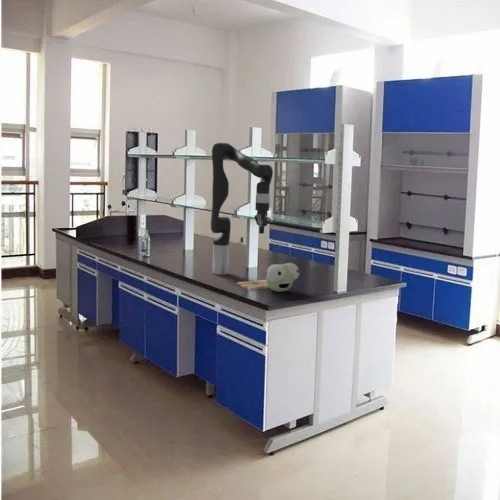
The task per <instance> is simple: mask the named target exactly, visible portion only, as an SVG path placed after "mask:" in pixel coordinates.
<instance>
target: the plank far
mask: <svg viewBox="0 0 500 500" xmlns="http://www.w3.org/2000/svg"><path fill="white" fill-rule="evenodd" d="M251 281H252V282H254V283H256V284H258V285H263V284H267V282H266V279H259V280H251Z"/></svg>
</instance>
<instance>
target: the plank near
mask: <svg viewBox="0 0 500 500" xmlns="http://www.w3.org/2000/svg"><path fill="white" fill-rule="evenodd" d="M252 281H253V280H250V281H239V282H238V281H237V282H236V285H237V286H239V287H242V288H244V289H245V287H246V286H253V285H258V284H256V283H254V282H252Z"/></svg>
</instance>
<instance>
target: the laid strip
mask: <svg viewBox="0 0 500 500" xmlns="http://www.w3.org/2000/svg"><path fill="white" fill-rule="evenodd" d="M244 289H246V290H248V291H255V290H256V291H257V290H265V289H271V288H270V287H269V286H268V284H263V285H253V286H246V287H245V288H244Z"/></svg>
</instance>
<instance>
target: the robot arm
mask: <svg viewBox="0 0 500 500" xmlns="http://www.w3.org/2000/svg"><path fill="white" fill-rule="evenodd" d="M211 157H212V158H211V161H212V194H211V195H212V197H211V198H212V207H211V217H210V230H211V232H212V233H213V234H221V235H219V236H218V237H216V238H214V239H213V240H212V270H211V271H212V272H211V273H212V274H213V275H217V276H224V275H225V276H226V275H228V274H229V261H230V260H229V258H230V256H229V255H230V238H231V219H230V217H228V216H220V211H221V208H222V207H223V205H224V203H225V202H226V200H227V198H228V196H229V192H230V191H229V189H230V187H229V186H230V183H229V180H228V177H227V174H226V173H225V168H224V160H230V161H233V162H236V163H237V165H239V166H240V167H241V168H242V169H244V170H246V171H247V172H249V173H251V174H252V175H253V176H255V177H256V178H260V181H259V182H257V183H256V194H255V209H254V210H255V211H256V215H254V216H253V217H254V219H255V222H256V225H257V226H258V233H259V234H261V235H263V234H264V233H265V227H267V226H268V224H269V223H270V219H271V217H270V216H268V212H269V211H270V185H271V184H272V183H271V182H272V178H273V174H274V173H273V172H274V169H273V167H272V166H271V165H270V164H260V163H259V161H258V160H256V159H254V158H252V157H250V156H249V155H246V154H244V153H242V152H241V151H240V150H238V149H237V148H235V147H234V146H233V145H231V144H230V143H229V142H216V143H214V144H213V145H212V149H211Z"/></svg>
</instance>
